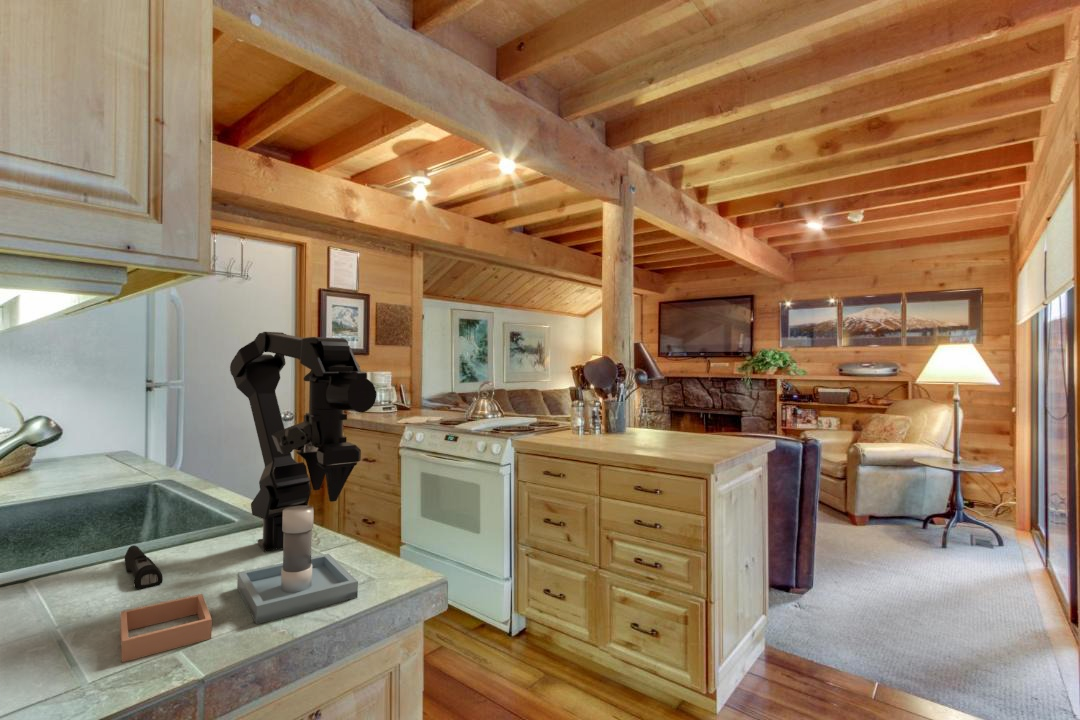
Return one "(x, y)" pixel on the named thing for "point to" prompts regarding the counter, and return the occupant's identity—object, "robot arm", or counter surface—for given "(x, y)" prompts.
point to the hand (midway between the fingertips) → (324, 495)
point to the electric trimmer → (142, 569)
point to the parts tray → (273, 603)
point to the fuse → (297, 548)
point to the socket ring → (168, 636)
